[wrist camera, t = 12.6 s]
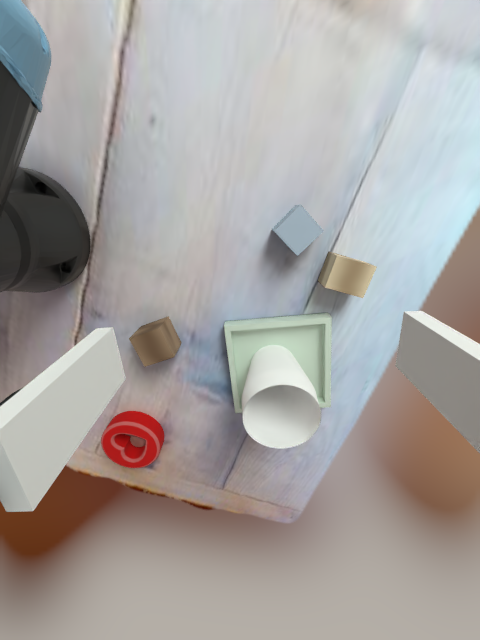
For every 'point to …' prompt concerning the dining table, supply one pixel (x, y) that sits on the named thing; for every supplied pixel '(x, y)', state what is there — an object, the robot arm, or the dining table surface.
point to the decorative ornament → (119, 443)
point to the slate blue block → (297, 229)
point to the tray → (287, 331)
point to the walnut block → (156, 341)
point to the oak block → (346, 274)
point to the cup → (279, 400)
